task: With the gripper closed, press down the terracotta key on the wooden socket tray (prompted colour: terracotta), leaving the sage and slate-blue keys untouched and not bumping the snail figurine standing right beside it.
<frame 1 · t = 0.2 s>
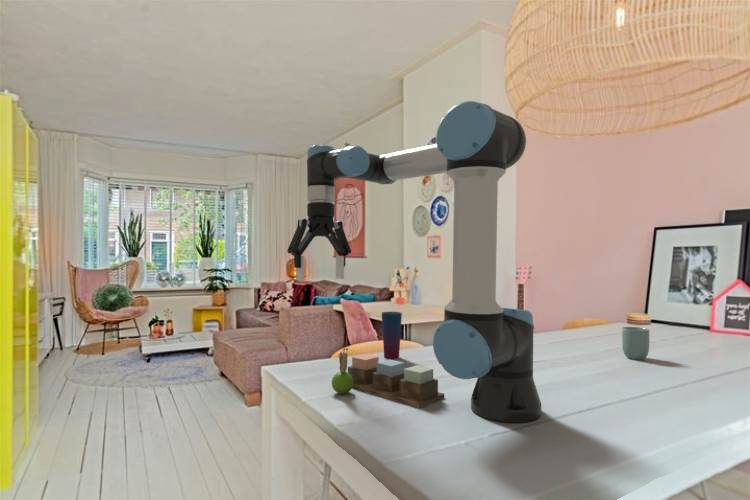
hand: (320, 279, 124), 28 cm above the table, fingers open, 13 cm apart
slate key: (390, 368, 115), point 6 cm above the table, slide at 0.0 cm
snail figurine: (342, 394, 112), on the table
wooden socket tray: (390, 390, 115), on the table
cup 2: (391, 358, 151), on the table
terracotta key: (365, 362, 121), point 6 cm above the table, slide at 0.0 cm
sage key: (418, 375, 108), point 6 cm above the table, slide at 0.0 cm
cup: (635, 358, 151), on the table
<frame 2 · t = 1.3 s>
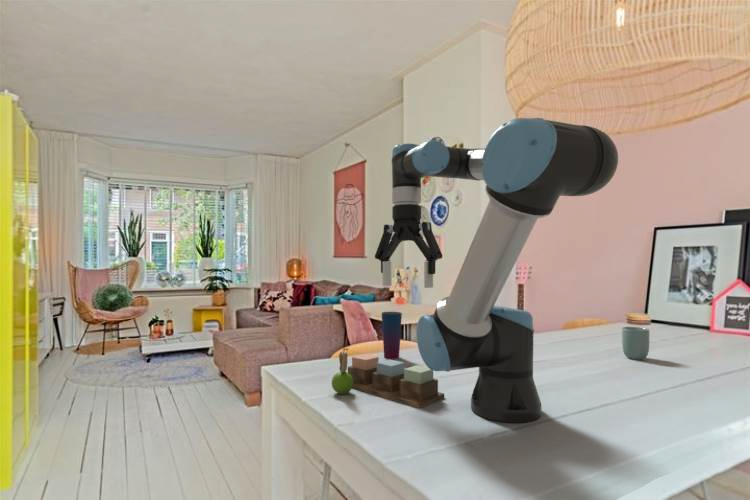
hand: (407, 286, 117), 26 cm above the table, fingers open, 13 cm apart
nothing on the table moved.
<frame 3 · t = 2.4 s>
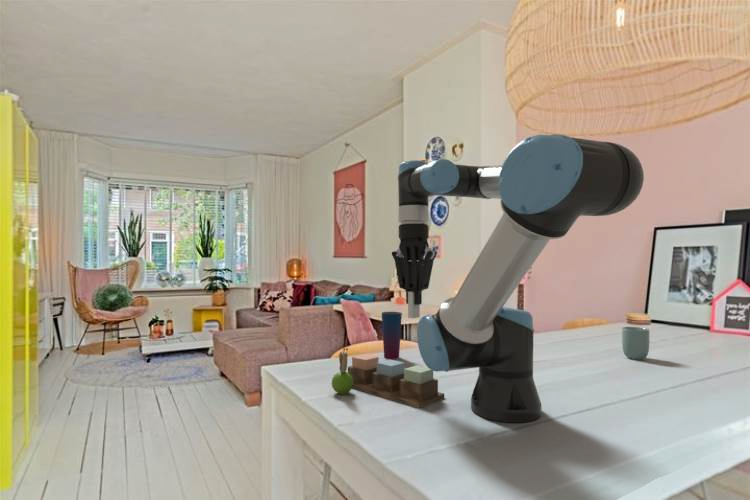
hand: (413, 317, 113), 19 cm above the table, fingers closed
nothing on the table moved.
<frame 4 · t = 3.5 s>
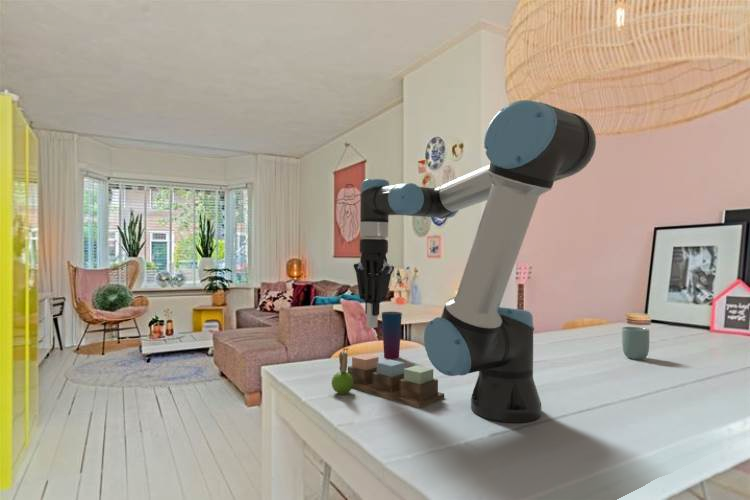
hand: (371, 327, 120), 15 cm above the table, fingers closed
nothing on the table moved.
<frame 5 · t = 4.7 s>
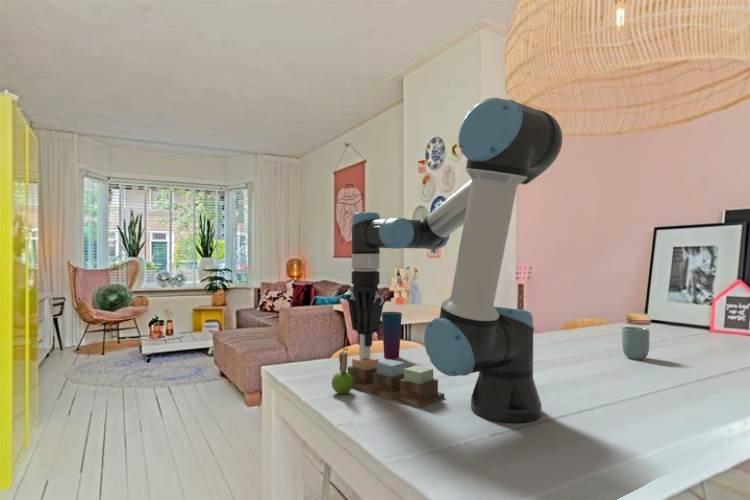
hand: (364, 357, 121), 7 cm above the table, fingers closed
terracotta key: (365, 364, 121), point 5 cm above the table, slide at 0.5 cm, touching gripper
everything else where it was.
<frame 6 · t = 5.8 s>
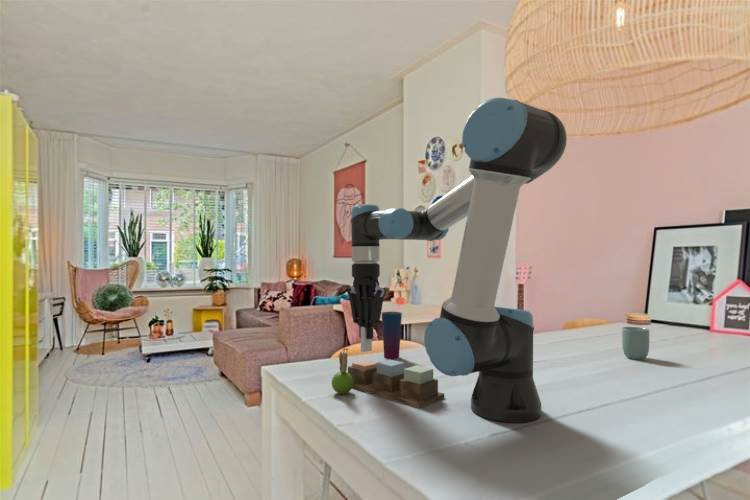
hand: (366, 350, 120), 9 cm above the table, fingers closed
terracotta key: (365, 368, 121), point 4 cm above the table, slide at 1.6 cm
everything else where it was.
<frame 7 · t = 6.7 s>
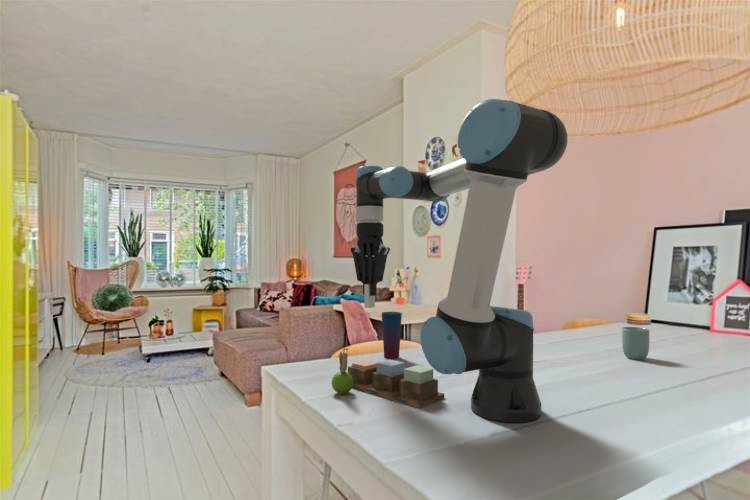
hand: (369, 307, 125), 20 cm above the table, fingers closed
nothing on the table moved.
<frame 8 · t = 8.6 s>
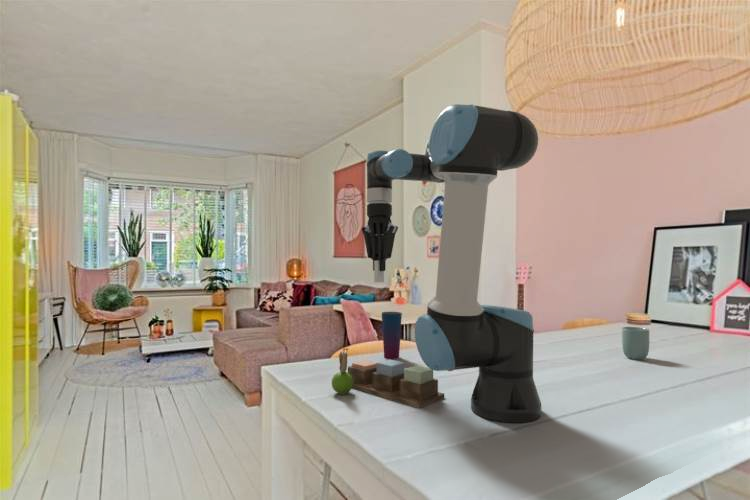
hand: (379, 282, 135), 26 cm above the table, fingers closed
nothing on the table moved.
at the end: terracotta key slide at 1.6 cm; slate key slide at 0.0 cm; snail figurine moved 0.2 cm from its start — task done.
